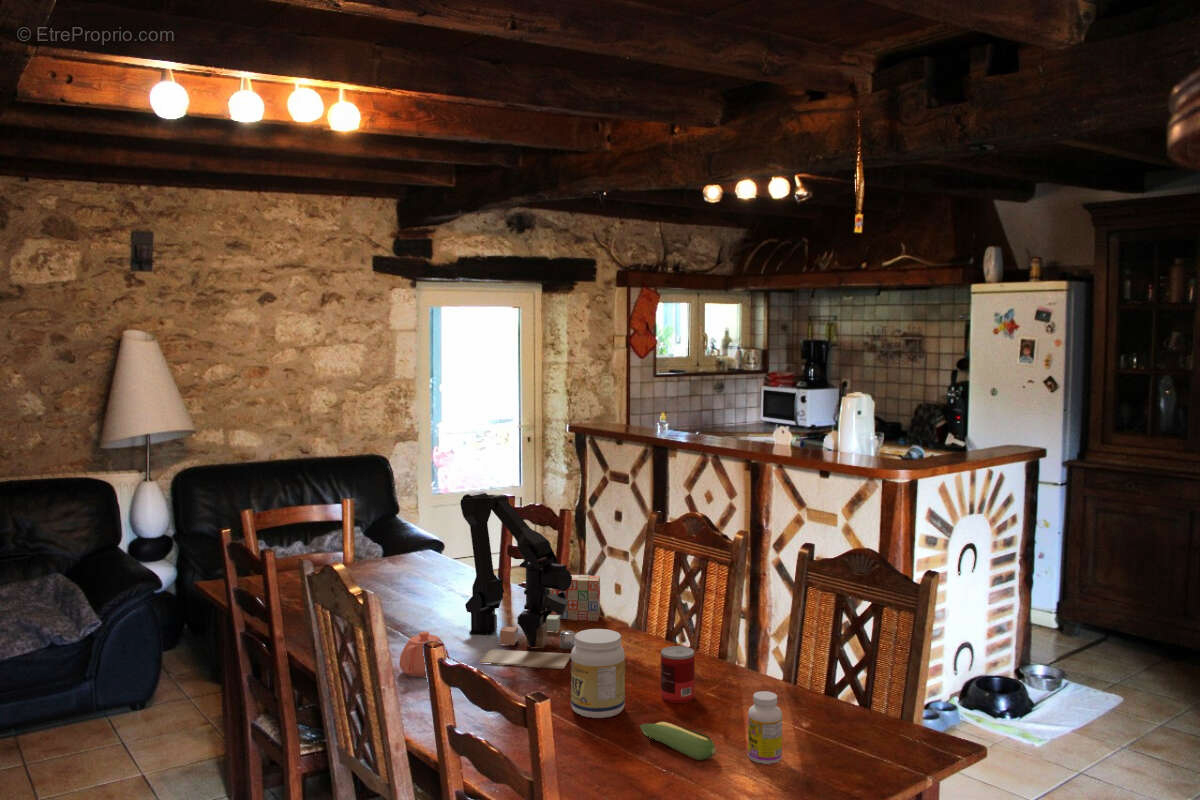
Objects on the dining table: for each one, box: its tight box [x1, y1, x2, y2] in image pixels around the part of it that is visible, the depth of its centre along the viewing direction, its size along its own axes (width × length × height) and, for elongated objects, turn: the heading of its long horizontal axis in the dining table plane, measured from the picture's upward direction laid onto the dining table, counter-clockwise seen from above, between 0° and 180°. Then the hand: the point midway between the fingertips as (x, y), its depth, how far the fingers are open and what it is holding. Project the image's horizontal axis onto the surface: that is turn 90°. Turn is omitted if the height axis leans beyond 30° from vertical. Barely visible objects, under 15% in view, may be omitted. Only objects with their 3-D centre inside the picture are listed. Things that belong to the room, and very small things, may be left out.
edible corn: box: [639, 721, 717, 761], centre depth 200 cm, size 5×20×5 cm, turn 42°
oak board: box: [479, 649, 571, 670], centre depth 254 cm, size 22×10×1 cm, turn 80°
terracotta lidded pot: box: [399, 631, 450, 679], centre depth 243 cm, size 12×14×10 cm
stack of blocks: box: [526, 574, 601, 622], centre depth 292 cm, size 21×6×12 cm, turn 84°
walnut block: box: [526, 622, 548, 649], centre depth 265 cm, size 4×4×6 cm
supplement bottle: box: [747, 690, 783, 765], centre depth 194 cm, size 7×7×13 cm
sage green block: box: [546, 615, 561, 633], centre depth 279 cm, size 4×4×4 cm
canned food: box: [660, 645, 695, 704], centre depth 227 cm, size 8×8×11 cm
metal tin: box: [559, 630, 576, 650], centre depth 264 cm, size 4×4×4 cm
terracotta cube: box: [499, 626, 519, 646], centre depth 268 cm, size 4×4×4 cm
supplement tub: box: [570, 628, 626, 719], centre depth 220 cm, size 12×12×17 cm
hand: (536, 641), depth 265 cm, fingers open, 9 cm apart
